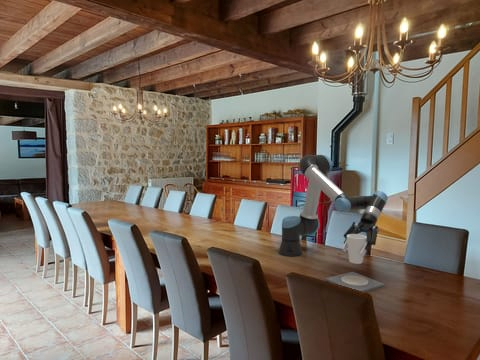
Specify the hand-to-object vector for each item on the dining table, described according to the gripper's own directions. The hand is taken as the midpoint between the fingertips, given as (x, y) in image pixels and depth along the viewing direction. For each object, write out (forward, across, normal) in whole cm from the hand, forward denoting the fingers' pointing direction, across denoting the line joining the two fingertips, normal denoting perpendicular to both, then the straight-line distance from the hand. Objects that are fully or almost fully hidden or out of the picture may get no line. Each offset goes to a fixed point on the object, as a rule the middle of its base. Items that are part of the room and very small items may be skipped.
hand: (352, 252), depth 171 cm
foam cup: (+2, 0, -6) cm, 6 cm away
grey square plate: (+9, 0, -14) cm, 17 cm away
